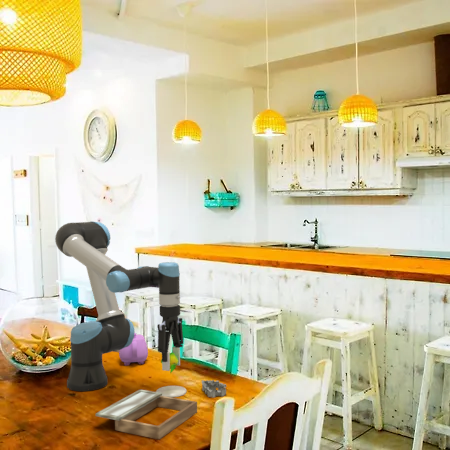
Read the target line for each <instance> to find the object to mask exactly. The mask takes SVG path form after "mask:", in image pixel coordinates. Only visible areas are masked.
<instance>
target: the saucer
mask: <svg viewBox="0 0 450 450" xmlns="http://www.w3.org/2000/svg"><path fill="white" fill-rule="evenodd" d="M155 392H159V393H162V396H165V397H171V398H177V397H178V398H179V397H181V396H184V395H186V393H187V389H186V388H185V387H184V386H180V385H167V386H166V385H165V386H161V387H159V388H158V389H156V391H155Z"/></svg>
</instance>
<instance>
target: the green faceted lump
mask: <svg viewBox="0 0 450 450" xmlns="http://www.w3.org/2000/svg"><path fill="white" fill-rule="evenodd" d="M169 354H170V371H169V372H170V374H172V373H173V371H174V370H176V368H177V366H178V365H177V363H178V359H177V357H176V356H175V354H174V353H173V352H169ZM160 363H161V364H162V359H161V360H160Z"/></svg>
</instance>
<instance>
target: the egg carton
mask: <svg viewBox="0 0 450 450" xmlns="http://www.w3.org/2000/svg"><path fill="white" fill-rule="evenodd" d="M201 384H202V385H201V386H202V392H204V393H205V395H207V397H208V398H216V397H218V396H219V397H225V396H226V395H227V389H226V388H227V384H226V383H222V382H220V381H219V380H216V381H215V380H214V379H213V380H210V379H209V380H208V379H207V380H201Z"/></svg>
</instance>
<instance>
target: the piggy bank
mask: <svg viewBox="0 0 450 450" xmlns="http://www.w3.org/2000/svg"><path fill="white" fill-rule="evenodd" d="M146 341H147V340H146V339H145V336H144V335H143V334H137V333H136V332H135V334H134V339H133V341H132V343H131V344H130V345H129V346H128V347H125V348H123V349H121V350H119V352H118V353H119V355H118V356H119V358H120V360H121V362H123V363H124V366H130V364H131V363H137V364H139V365H144V364H145V361H147V358H148V356H149V355H148V354H149V352H148V346H147V345H148V344H147V342H146Z"/></svg>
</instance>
